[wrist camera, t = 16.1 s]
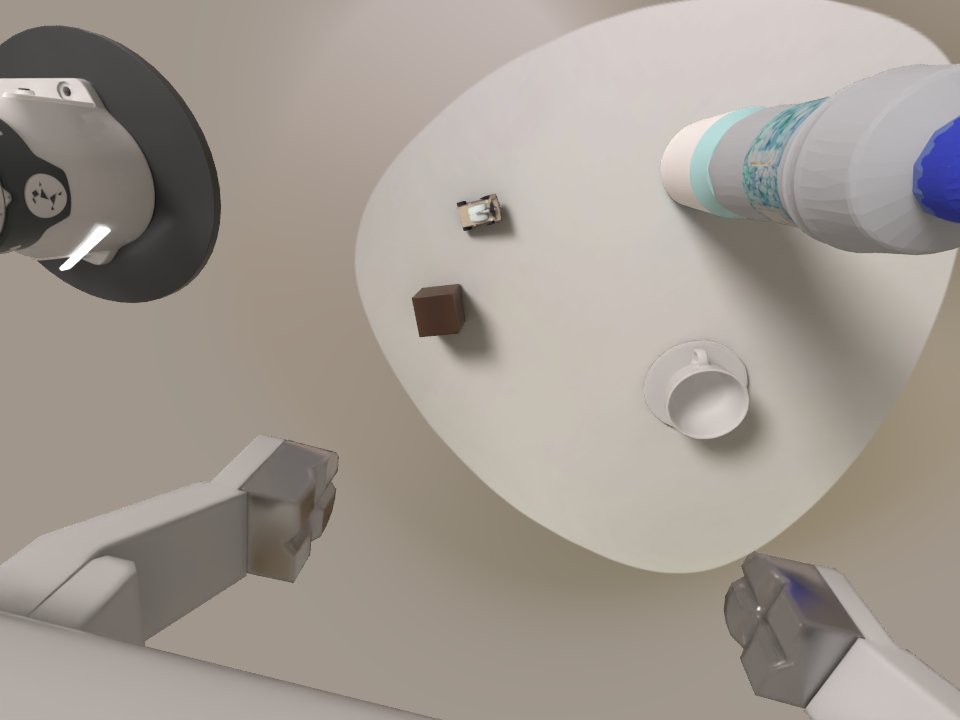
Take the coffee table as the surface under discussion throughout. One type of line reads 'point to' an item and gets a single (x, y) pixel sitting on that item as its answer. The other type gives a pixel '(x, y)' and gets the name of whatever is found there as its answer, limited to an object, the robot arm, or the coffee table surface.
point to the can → (698, 162)
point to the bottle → (854, 164)
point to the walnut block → (439, 310)
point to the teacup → (698, 389)
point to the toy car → (479, 212)
